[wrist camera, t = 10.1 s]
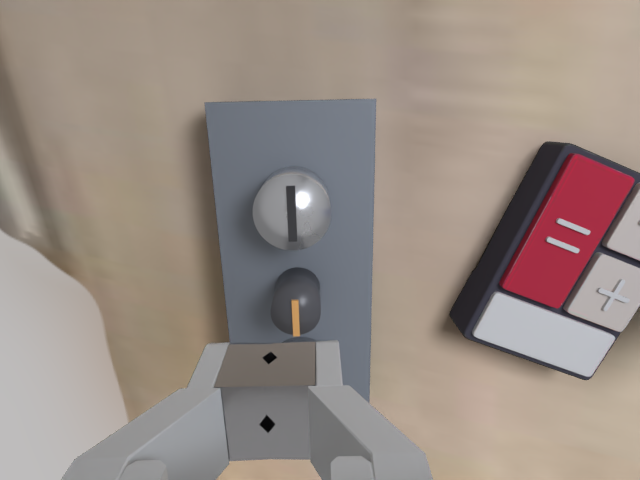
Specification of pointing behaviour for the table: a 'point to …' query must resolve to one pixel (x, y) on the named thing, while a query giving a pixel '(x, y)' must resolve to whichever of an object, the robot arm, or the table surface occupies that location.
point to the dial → (296, 302)
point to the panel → (324, 256)
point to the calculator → (559, 264)
